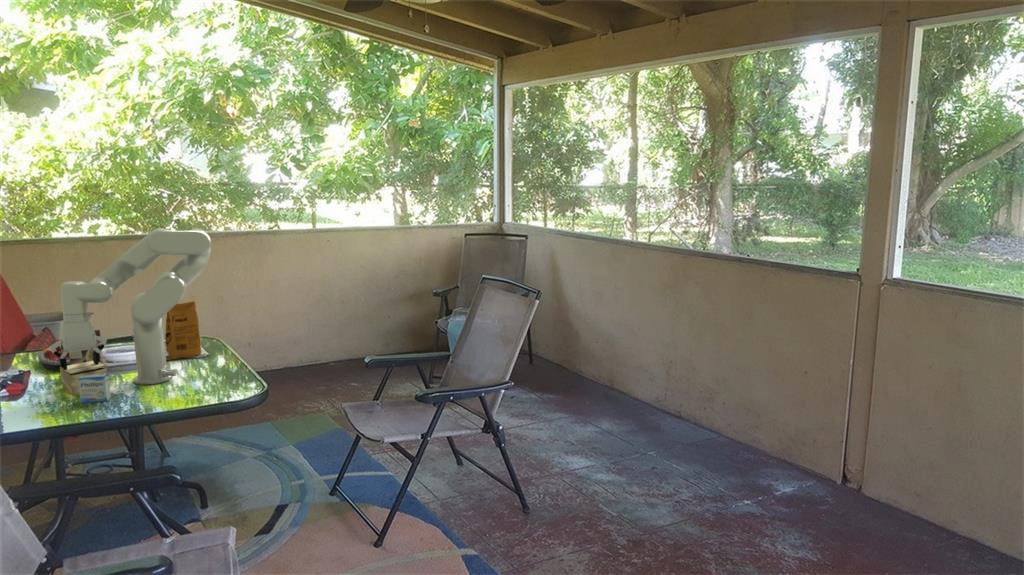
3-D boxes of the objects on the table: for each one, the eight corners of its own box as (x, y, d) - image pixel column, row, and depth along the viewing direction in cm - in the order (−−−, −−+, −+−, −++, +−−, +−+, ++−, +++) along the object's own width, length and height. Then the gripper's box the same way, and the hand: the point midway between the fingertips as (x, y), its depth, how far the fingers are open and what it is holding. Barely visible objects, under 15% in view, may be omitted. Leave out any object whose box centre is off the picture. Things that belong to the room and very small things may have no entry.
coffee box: (86, 378, 255) (81, 335, 252) (71, 377, 257) (65, 334, 254) (105, 371, 264) (100, 329, 261) (90, 370, 265) (85, 328, 262)
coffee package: (165, 355, 286) (160, 302, 282) (198, 350, 293) (193, 298, 289) (170, 360, 278) (164, 306, 274) (203, 355, 285) (198, 302, 281)
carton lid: (95, 361, 251) (95, 360, 251) (106, 366, 243) (106, 364, 243) (59, 368, 243) (59, 366, 243) (69, 373, 235) (69, 371, 235)
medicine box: (80, 403, 229) (77, 378, 227) (84, 399, 233) (81, 374, 231) (107, 401, 231) (104, 376, 229) (111, 397, 235) (108, 372, 233)
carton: (97, 380, 252) (95, 362, 251) (108, 388, 244) (106, 368, 243) (62, 388, 245) (60, 368, 243) (73, 395, 236) (70, 375, 235)
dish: (40, 376, 259) (38, 363, 258) (38, 357, 284) (36, 345, 283) (89, 369, 268) (87, 356, 267) (83, 351, 293) (81, 340, 292)
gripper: (100, 312, 248) (104, 359, 251) (43, 319, 235) (48, 369, 238) (108, 315, 243) (111, 363, 245) (50, 323, 230) (54, 373, 233)
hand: (80, 366), depth 242 cm, fingers open, 9 cm apart
